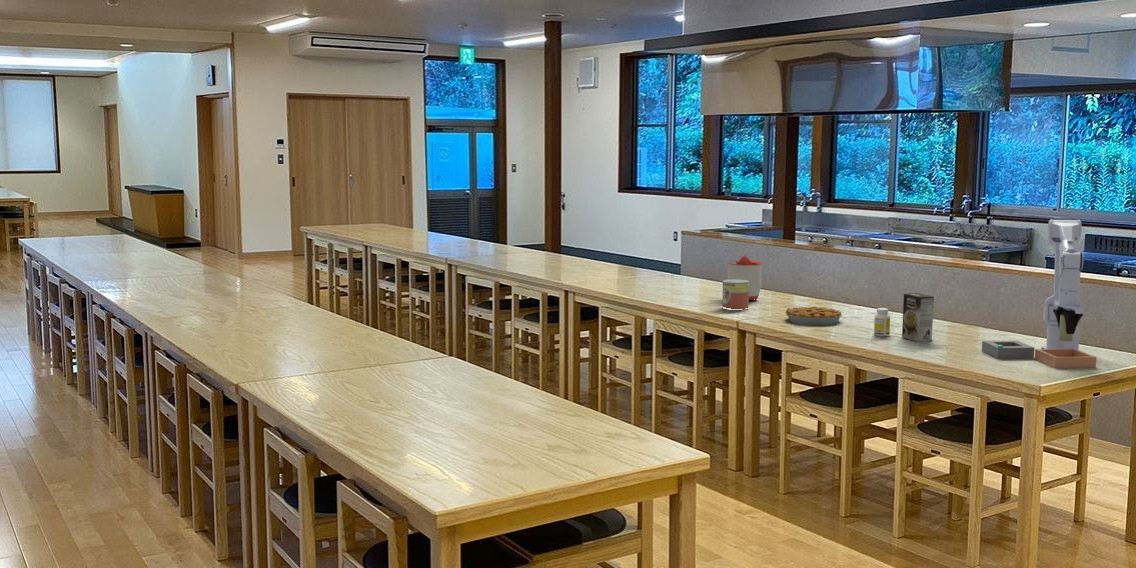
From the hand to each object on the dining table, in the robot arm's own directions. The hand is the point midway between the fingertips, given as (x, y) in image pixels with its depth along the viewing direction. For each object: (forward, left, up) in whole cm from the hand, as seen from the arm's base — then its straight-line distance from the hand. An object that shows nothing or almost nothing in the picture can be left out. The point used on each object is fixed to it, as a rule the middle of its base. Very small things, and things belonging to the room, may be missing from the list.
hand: (1066, 332), depth 320 cm
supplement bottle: (+42, -50, -10) cm, 66 cm away
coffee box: (+32, -42, -10) cm, 54 cm away
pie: (+59, -81, -10) cm, 101 cm away
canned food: (+84, -113, -10) cm, 141 cm away
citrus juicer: (+76, -138, -10) cm, 158 cm away
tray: (0, 0, -10) cm, 10 cm away
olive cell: (0, 0, -2) cm, 2 cm away
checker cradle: (+12, -14, -10) cm, 21 cm away
